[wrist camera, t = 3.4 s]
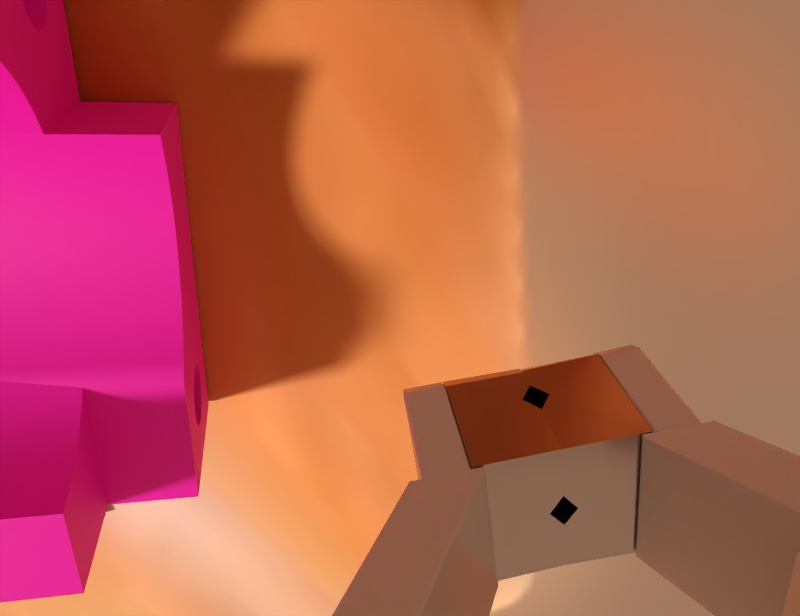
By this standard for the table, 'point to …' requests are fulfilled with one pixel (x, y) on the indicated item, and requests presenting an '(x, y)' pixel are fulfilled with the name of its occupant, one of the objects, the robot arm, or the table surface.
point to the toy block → (87, 310)
